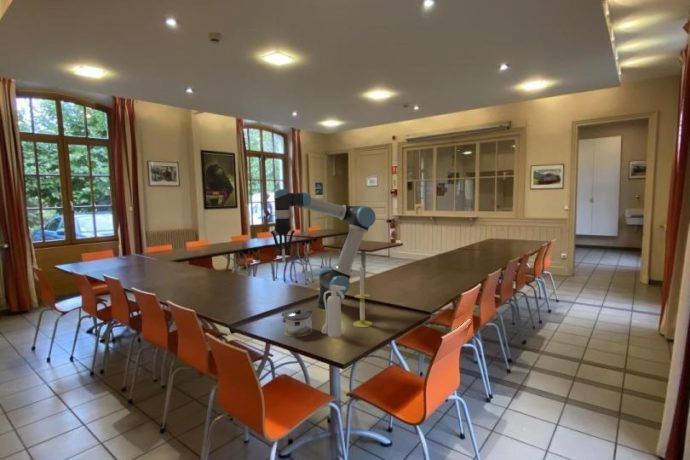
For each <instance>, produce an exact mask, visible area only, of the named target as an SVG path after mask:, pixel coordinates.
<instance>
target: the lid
mask: <svg viewBox="0 0 690 460" xmlns="http://www.w3.org/2000/svg"><path fill="white" fill-rule="evenodd" d="M281 316H282V317H283V318H284V317H285V318H287V319H305V318H308V317H310V316H311V317H312V316H313V311H312V310H311V309H309V308H301V307H300V308H298V307H297V308H291V309H288V310H286V311H283V312H282V313H281Z"/></svg>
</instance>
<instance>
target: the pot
mask: <svg viewBox="0 0 690 460" xmlns="http://www.w3.org/2000/svg"><path fill="white" fill-rule="evenodd" d="M282 323H284V325H285V326H284V328H285V329H284V331H285V333H286V334H288V335H291V336H290V337H303V336H302V335H305V336H307V335H306V334H308V335H310V334H311V333H310V332H311V331H312V329H313V327H312V324H313V323H312V316H310V317H308V318H305V319H287V318H285V317H284V316H283V318H282ZM312 332H313V331H312ZM285 333H284V334H285ZM309 333H310V334H309ZM286 334H285V335H286ZM288 335H287V336H288Z"/></svg>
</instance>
